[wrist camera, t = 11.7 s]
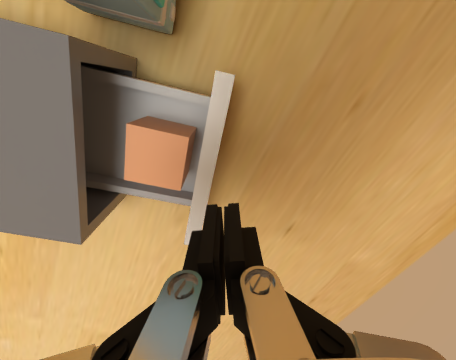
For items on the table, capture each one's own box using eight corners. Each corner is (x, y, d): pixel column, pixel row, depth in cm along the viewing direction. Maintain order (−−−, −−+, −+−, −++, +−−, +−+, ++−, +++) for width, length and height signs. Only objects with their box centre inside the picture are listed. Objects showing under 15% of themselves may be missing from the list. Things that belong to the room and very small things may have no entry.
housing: (137, 58, 21) (68, 35, 12) (130, 190, 27) (81, 244, 17) (-66, 7, 19) (-337, -68, 10) (-26, 161, 25) (-172, 204, 16)
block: (196, 127, 22) (189, 137, 17) (188, 171, 24) (180, 191, 19) (147, 115, 21) (126, 123, 17) (143, 161, 23) (124, 179, 19)
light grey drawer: (232, 78, 21) (235, 75, 15) (203, 211, 27) (197, 246, 21) (48, 31, 19) (-32, 6, 13) (62, 185, 25) (12, 215, 19)
